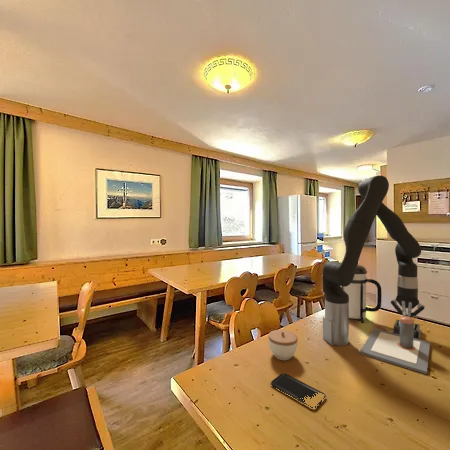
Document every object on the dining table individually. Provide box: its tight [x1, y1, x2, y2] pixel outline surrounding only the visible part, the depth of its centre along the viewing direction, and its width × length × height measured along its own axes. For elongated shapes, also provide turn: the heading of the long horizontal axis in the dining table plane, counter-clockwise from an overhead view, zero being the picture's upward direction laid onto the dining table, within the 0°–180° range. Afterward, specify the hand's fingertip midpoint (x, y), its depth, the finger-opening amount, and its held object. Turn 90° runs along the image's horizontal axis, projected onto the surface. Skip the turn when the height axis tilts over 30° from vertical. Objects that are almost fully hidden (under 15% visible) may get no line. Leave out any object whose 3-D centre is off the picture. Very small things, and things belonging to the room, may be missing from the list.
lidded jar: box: [268, 329, 299, 361], centre depth 96 cm, size 11×11×9 cm
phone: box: [270, 372, 327, 408], centre depth 77 cm, size 8×1×15 cm
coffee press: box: [341, 264, 382, 324], centre depth 130 cm, size 17×16×30 cm
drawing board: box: [359, 327, 431, 375], centre depth 100 cm, size 26×20×1 cm
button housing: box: [391, 319, 422, 339], centre depth 114 cm, size 10×10×3 cm
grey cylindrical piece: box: [399, 315, 415, 349], centre depth 100 cm, size 5×5×11 cm
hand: (406, 323), depth 114 cm, fingers closed
